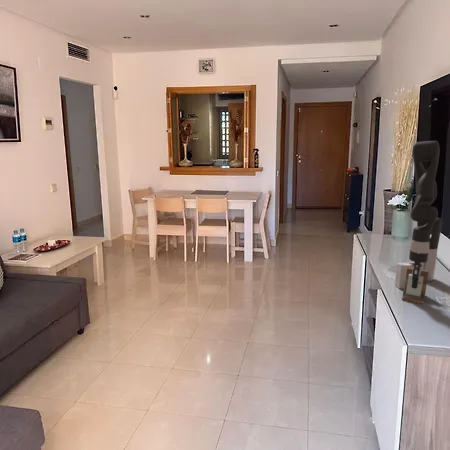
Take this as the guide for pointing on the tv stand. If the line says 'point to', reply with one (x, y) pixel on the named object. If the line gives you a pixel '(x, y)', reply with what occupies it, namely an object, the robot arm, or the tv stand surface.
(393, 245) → the tv stand surface
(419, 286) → the door
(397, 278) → the skincare box
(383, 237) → the tv stand surface
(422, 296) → the cabinet
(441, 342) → the tv stand surface
